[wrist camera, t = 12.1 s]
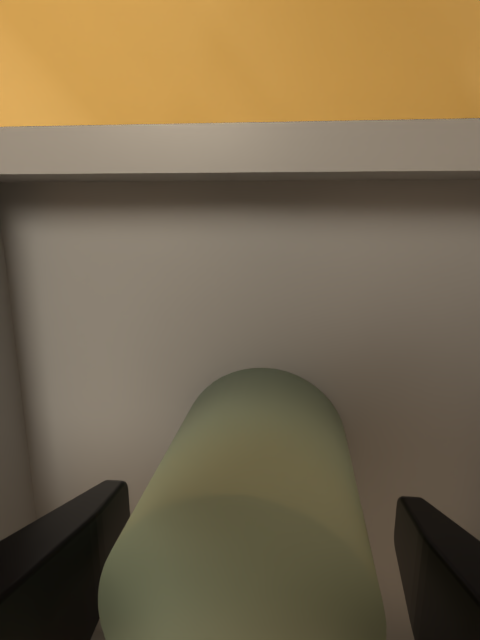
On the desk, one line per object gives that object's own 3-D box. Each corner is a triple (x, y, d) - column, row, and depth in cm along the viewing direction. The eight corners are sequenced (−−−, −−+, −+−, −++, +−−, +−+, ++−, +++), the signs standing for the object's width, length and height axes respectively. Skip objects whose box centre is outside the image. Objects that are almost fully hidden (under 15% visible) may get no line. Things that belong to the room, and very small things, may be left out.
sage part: (351, 371, 10) (398, 507, 5) (341, 522, 11) (376, 754, 6) (181, 364, 11) (87, 482, 6) (186, 509, 12) (107, 717, 7)
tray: (603, 141, 9) (722, 114, 7) (510, 670, 13) (567, 783, 10) (-25, 149, 11) (-120, 129, 8) (36, 627, 14) (-19, 719, 11)
